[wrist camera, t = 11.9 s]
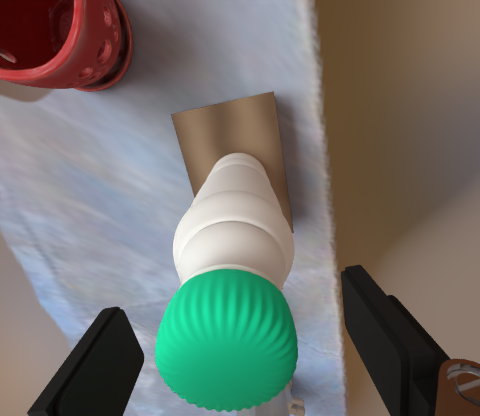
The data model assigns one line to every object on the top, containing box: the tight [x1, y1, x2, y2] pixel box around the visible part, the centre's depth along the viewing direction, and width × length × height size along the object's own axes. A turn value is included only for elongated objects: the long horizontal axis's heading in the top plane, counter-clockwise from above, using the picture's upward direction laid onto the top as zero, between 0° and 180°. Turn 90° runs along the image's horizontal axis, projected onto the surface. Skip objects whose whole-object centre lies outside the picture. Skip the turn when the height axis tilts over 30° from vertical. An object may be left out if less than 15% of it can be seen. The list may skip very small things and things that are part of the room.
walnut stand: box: [171, 91, 294, 233], centre depth 33 cm, size 12×18×4 cm, turn 12°
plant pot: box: [0, 0, 133, 92], centre depth 23 cm, size 13×13×12 cm
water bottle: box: [155, 153, 298, 412], centre depth 19 cm, size 7×7×25 cm
